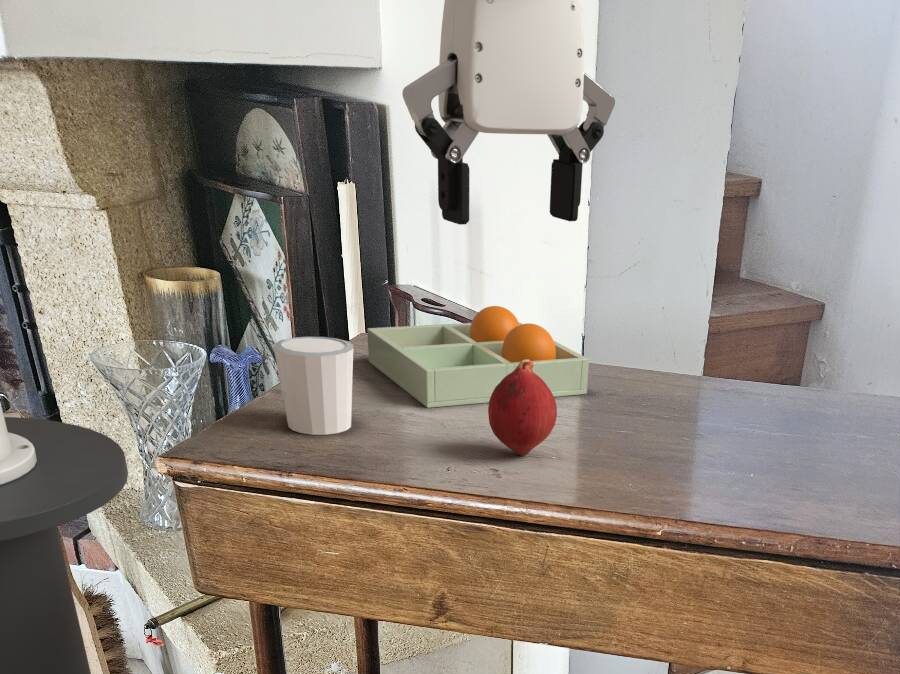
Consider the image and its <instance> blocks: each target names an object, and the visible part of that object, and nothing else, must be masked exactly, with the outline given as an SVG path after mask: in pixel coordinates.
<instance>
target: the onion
mask: <svg viewBox="0 0 900 674" xmlns="http://www.w3.org/2000/svg"><path fill="white" fill-rule="evenodd" d="M533 366H534V364H533V363H532V362H531V361H530V360H529V359H527V360H526V359H525V360H522V361H521V362H520V363H519V364H518V366H517V367H516V369H515V370H514V371H513V372H512V373H510V374H508V375H507V376H506V377H504V378H503V379H502V381H501V382H500V383H499V384H498V385H497V386H496V387H495V389H494V391H493V392H492V395H491V397H490V400H489V403H488V408H487V413H488V414H487V415H488V422H489V426H490V428H491V431H492V433H493V434H494V436H495V437H496V438H497V440H499V442H501V443H502V444H503V445H504V446H505V447H506V448H508V450H509V449H510V451H512V452H513V453H514V454H516V455H518V456H527V455H528V454H529V453H530V452H531V451H532V450H533V449H534V448H536V447H538V446H539V445H540V444H542V442H544V441H545V440H546V439H547V438H548V437H549V436H550V434H551V433H552V431H553V429H554V427H555V426H556V423H557V417H558V407H557V406H558V405H557V402H556V397H554V396H553V394H552V392H551V390H550V389H549V387H548V386H547V385H546V383H545V382H544V381H543V380H542V379H541V378H540V377H539V376H538V375H536V374H535V373H534V372H533V371H532V368H533Z"/></svg>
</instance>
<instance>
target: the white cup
mask: <svg viewBox="0 0 900 674" xmlns="http://www.w3.org/2000/svg"><path fill="white" fill-rule="evenodd" d="M273 353H274V357H275V362H276V366H277V373H278V378H279V383H280V389H281V394H282V400H283V404H284V405H283V406H284V411H285V416H286V422H287V427H288V428H289V429H290V430H292V431H293V432H296V433H300V434H303V435H312V436H313V435H314V436H315V435H317V436H327V435H335V434H340V433H343V432H346V431H349V429H350V428H352V411H353V410H352V409H353V407H352V406H353V375H354V374H353V373H354V344H353V343H351V342H350V341H348V340H345V339H340V338H335V337H327V336H297V337H290V338H289V337H288V338H285V339H280V340H279V341H276V342H275V343H274V344H273Z"/></svg>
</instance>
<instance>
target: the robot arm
mask: <svg viewBox="0 0 900 674" xmlns="http://www.w3.org/2000/svg"><path fill="white" fill-rule="evenodd" d="M583 13H584V12H583V1H582V0H444V2H443V11H442V19H441V20H442V21H441V31H440V34H441V35H440V45H439V64H438V65H437V66H435V67H434V68H432V69H431V70H429V71H427V72H425V74H423V75H421V76H420V77H418V78H416V79H415V80H413V81H412V82H411V83H409V84H407V85H406V86H404V87H403V89H402V93H401V95H402V99H403V101H404V103H405V105H406V106H405V107H406V108H407V111H408V113H409V115H410V117H411V120H412V121H413V123H414V129H415V132H416V134H417V135H418V136H419V137H420V139H421V140H422V142H423V143H424V144H425V145H426V146H427V147H428V149H429V150H430V154H431V156H432V157H433V158H434V159H437V200H438V201H437V203H438V206H439V209H440V210H441V217H442V219H443V220H444V221H447V222H451V223H454V224H456V225H461V226H462V225H467V224H468V223H469V222H470V166H469V163H466V162H464V161H463V159H464V156H465V155H466V153H467V152H468V150H469V148H470V147H471V146H472V144H473V142H474V140H475V139H476V138H477V136H478V135H479V133H483V134H498V135H499V134H501V135H502V134H504V135H505V134H507V135H547V137H548V138H549V140H550V142H551V144H552V146H553V147H554V149H555V151H556V153H557V154H558V158H552V162H551V168H550V169H551V170H550V189H549V190H550V193H549V215H550V216H551V217H552V218H556V219H560V220H563V221H567V222H576V221H578V217H579V207H580V205H581V197H582V184H583V183H582V182H583V181H582V179H583V165H584V164H587V162H589V160H590V159H591V152H592V151H593V150H594V149H595V147H596V146H597V145H598V144H599V142H600V141H601V140H602V138H603V136H604V133H605V129H604V128H605V126H607V124H608V121H609V119H610V117H611V114H612V112H613V110H614V108H615V104H616V99H615V97H614V96H613V94H612V93H610V92H609V91H607V90H606V88H604V87H603V86H602V85H600V84H599V83H598V82H597V81H596V80H595V79H593V78H592V77H591V76H590V75H589V74H587V73H586V72H585V37H584V36H585V35H584V17H583V15H584V14H583ZM437 96H438V113H439V116H440V119H441V120H442V121H443V123H444V125H443V126H442V125H441V123H440V122H439V121H438V120H437V119H436V117H435V114H434V110H433V108H432V102H433V99H435V98H436V97H437ZM584 102H585V103H586V104H587V107H588V109H587V113H586V115H585V116H586V117H585V120H583V121H582V122H581V123H580V121H581V117H582V112H583V111H582V110H583V103H584ZM2 407H3V406H2V403H1V402H0V485H3V484H6V483H9V482H11V481H14V480H16V479H18V478H20V477H22V476H23V475H25V474H27V473H28V472H29V471H30V470H31V469H32V468H33V467H34V466H35V464H36V462H37V459H36V453H35V448H34V446H33V444H32V443H31V442H30V441H28V440H27V439H26V438H23V437H21V436H19V435H16V434H13V433H9V432H8V431H7V427H6V423H5V419H4V417H5V414H4V410H3V408H2Z"/></svg>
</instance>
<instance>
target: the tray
mask: <svg viewBox="0 0 900 674" xmlns="http://www.w3.org/2000/svg"><path fill="white" fill-rule="evenodd" d="M471 323H472V322H463V323H461V322H460V323H448V324H447V323H443V324H427V325H426V324H424V325H423V324H421V325H405V326H387V327H385V326H383V327H368V328H367V330H366V331H367V332H366V333H367V352H368V363H369V364H371V365H372V366H373V367H375V368H376V369H377V370H379V371H380V373H382V374H384V375H385V376H386V377H387V378H388V379H390V380H391V381H392V382H394V383H395V384H396V385H398V386H399V387H400V388H401V389H403V390H404V391H405V392H406V393H408V394H409V395H410V396H412V397H413V398H414V399H415V400H417V401H418V402H419V403H420V404H422V405H423V406H424V407H425V408H427V409H432V408H441V407H442V408H443V407H454V406H455V407H456V406H466V405H474V404H475V405H478V404H487V403H488V404H489V400H490V397H491V395H492V392H493V391H494V389H495V387H496V386H497V385H498V384H499V383H500V382H501V381H502V379H503V378H504V377H506V376H507V375H508V374H510V373H512V372H513V371H514V370H515V369H516V367H517V366H518V364H519V363H520V362H513V363H511V362H509V361H507V360H506V359H504V358H502V346H503V342H504V341H491V342H476V341H474V340H473V339H471V338H470V327H471ZM519 324H520V325H521V324H522V323H521V322H519ZM553 341H554V343H555V348H556V358H555V360H541V361H531V362H532V363H533V364H534V366H533V368H532V371H533V372H534V373H535V374H536V375H538V376H539V377H540V378H541V379H542V380H543V381H544V382H545V383H546V385H547V386H548V387H549V389H550V390H551V392H552V394H553V396H554V398H557V397H567V396H568V397H569V396H578V395H587V393H588V380H589V367H590V358H588V357H585V356H584V355H582V354H580V353H578V352H576V351H575V350H573V349H571V348H569V347H567V346H565V345H563V344H561V343H559V342H557V341H555V340H554V339H553Z"/></svg>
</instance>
